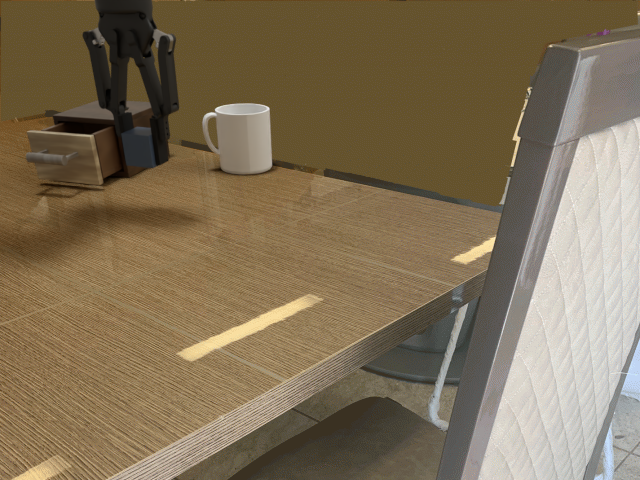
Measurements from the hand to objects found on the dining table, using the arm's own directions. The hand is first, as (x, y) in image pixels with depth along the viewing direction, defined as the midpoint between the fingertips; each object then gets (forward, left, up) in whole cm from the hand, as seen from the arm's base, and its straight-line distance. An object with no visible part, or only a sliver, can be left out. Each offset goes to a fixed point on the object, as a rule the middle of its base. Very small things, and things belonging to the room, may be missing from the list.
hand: (146, 160), depth 99 cm
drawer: (-21, +12, -7) cm, 25 cm away
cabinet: (-21, +23, -8) cm, 32 cm away
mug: (+3, +27, -8) cm, 28 cm away
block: (0, 0, 0) cm, 0 cm away
